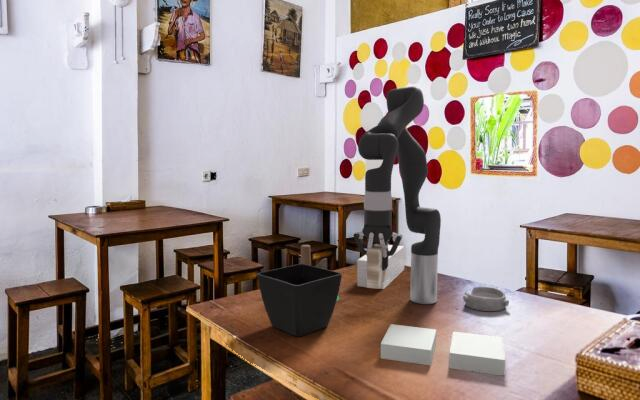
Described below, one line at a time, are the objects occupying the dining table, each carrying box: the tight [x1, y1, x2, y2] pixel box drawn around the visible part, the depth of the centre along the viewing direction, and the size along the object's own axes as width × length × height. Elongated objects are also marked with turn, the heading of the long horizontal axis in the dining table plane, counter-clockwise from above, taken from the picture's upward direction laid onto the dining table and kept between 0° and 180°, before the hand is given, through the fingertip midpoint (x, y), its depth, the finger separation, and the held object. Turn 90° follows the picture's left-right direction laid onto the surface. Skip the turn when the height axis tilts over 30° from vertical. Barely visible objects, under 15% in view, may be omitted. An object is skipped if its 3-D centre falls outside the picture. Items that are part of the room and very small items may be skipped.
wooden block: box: [300, 244, 328, 270], centre depth 175 cm, size 4×11×18 cm, turn 53°
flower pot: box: [257, 263, 343, 337], centre depth 143 cm, size 19×19×17 cm
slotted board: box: [380, 323, 506, 377], centre depth 123 cm, size 14×30×4 cm, turn 71°
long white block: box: [356, 244, 406, 290], centre depth 197 cm, size 32×11×11 cm, turn 155°
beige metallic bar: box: [366, 244, 387, 290], centre depth 130 cm, size 12×3×10 cm, turn 160°
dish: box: [462, 286, 510, 312], centre depth 161 cm, size 14×14×5 cm
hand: (377, 269), depth 130 cm, fingers closed on beige metallic bar, 3 cm apart
